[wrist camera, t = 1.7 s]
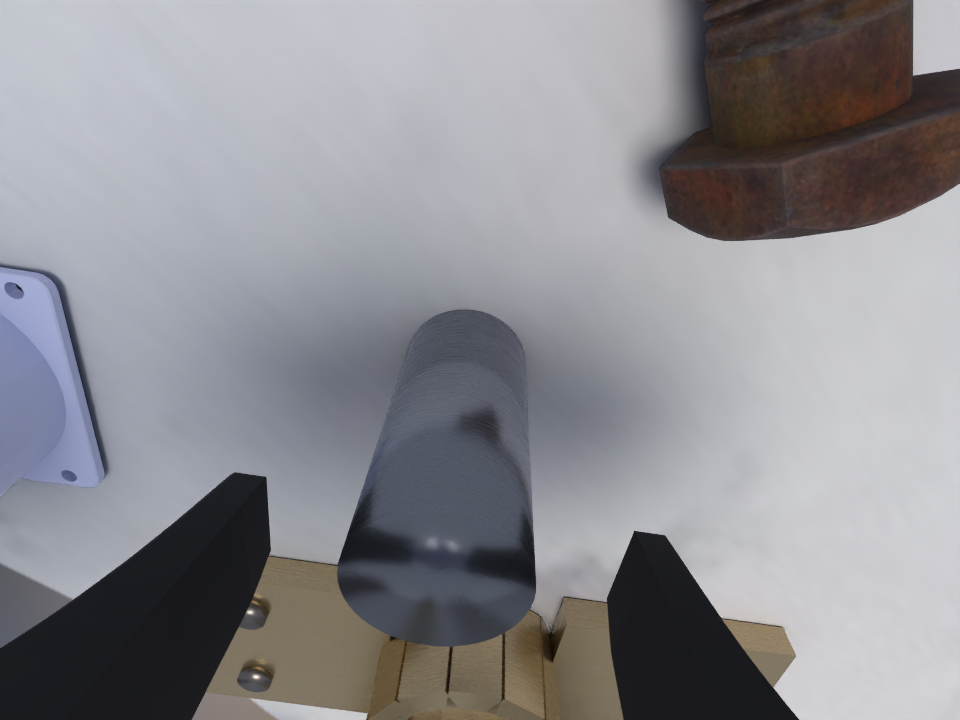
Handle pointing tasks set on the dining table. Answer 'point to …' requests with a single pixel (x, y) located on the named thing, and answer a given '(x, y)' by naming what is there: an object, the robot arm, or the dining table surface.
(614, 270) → the dining table surface
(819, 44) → the bolt
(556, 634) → the hinge
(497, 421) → the hinge pin
